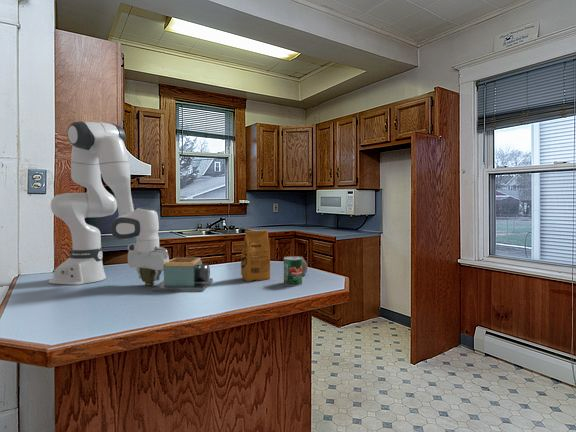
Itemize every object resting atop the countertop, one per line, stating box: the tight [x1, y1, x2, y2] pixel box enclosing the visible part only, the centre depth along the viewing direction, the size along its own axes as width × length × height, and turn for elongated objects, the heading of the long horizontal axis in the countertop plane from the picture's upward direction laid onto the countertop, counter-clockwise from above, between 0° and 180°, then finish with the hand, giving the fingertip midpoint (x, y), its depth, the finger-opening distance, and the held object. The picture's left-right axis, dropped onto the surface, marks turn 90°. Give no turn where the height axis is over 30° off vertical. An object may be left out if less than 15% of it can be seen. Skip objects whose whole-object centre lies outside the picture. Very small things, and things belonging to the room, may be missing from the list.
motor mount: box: [151, 257, 214, 293], centre depth 148 cm, size 20×16×11 cm
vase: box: [297, 255, 308, 277], centre depth 167 cm, size 7×7×9 cm
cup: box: [140, 268, 156, 287], centre depth 149 cm, size 8×7×8 cm
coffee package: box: [240, 229, 271, 282], centre depth 160 cm, size 10×12×22 cm
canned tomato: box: [283, 255, 303, 287], centre depth 151 cm, size 8×8×11 cm
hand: (149, 279), depth 149 cm, fingers closed on cup, 7 cm apart
